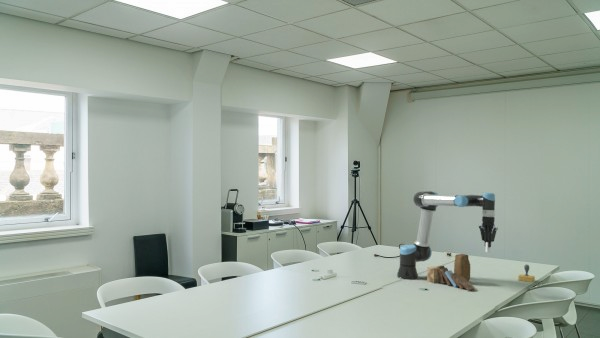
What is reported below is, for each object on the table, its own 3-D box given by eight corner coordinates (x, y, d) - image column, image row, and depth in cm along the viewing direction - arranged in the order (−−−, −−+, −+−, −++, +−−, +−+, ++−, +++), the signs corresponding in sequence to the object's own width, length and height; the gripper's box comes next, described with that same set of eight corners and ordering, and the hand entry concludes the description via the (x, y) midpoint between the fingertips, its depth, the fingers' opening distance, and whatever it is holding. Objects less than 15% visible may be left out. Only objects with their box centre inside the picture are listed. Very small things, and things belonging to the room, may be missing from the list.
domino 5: (468, 291, 304) (455, 279, 313) (473, 290, 307) (460, 278, 316) (470, 288, 304) (457, 276, 312) (475, 287, 306) (462, 275, 315)
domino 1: (441, 283, 324) (436, 266, 328) (446, 283, 326) (441, 266, 330) (443, 283, 322) (439, 266, 326) (448, 282, 325) (444, 265, 328)
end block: (427, 281, 330) (427, 267, 330) (438, 279, 337) (438, 265, 337) (433, 283, 325) (433, 269, 325) (445, 281, 332) (445, 267, 332)
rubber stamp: (534, 281, 339) (535, 264, 339) (533, 282, 334) (533, 266, 335) (520, 279, 345) (520, 263, 345) (518, 280, 341) (518, 264, 341)
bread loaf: (460, 284, 324) (461, 255, 324) (452, 281, 331) (453, 253, 331) (471, 282, 329) (472, 254, 329) (463, 280, 336) (464, 253, 336)
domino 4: (461, 289, 310) (449, 275, 318) (466, 288, 312) (454, 275, 321) (462, 287, 309) (451, 273, 317) (467, 286, 311) (456, 272, 319)
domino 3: (454, 287, 314) (444, 272, 322) (459, 286, 317) (449, 272, 324) (456, 285, 313) (446, 271, 320) (461, 284, 316) (451, 270, 323)
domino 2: (448, 285, 319) (440, 269, 325) (452, 284, 321) (445, 269, 328) (450, 284, 317) (442, 268, 324) (455, 283, 320) (447, 267, 326)
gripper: (476, 215, 308) (475, 250, 307) (493, 217, 297) (492, 254, 296) (483, 215, 312) (482, 250, 311) (500, 217, 301) (500, 253, 300)
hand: (487, 251), depth 304 cm, fingers closed
